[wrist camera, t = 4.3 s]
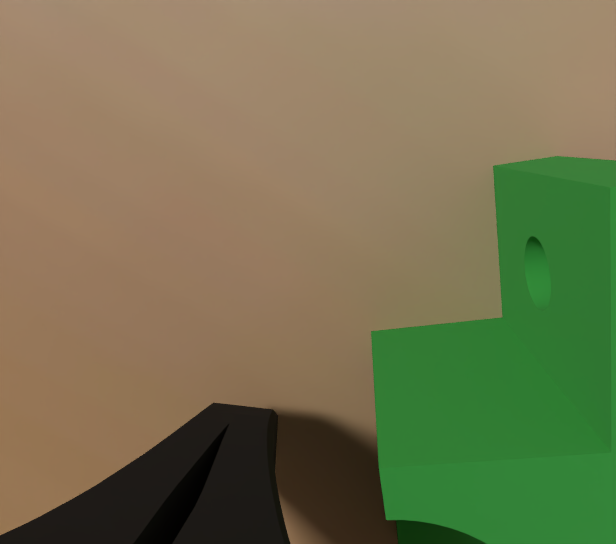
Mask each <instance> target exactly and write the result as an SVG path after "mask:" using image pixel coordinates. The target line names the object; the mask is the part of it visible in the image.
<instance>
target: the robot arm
mask: <svg viewBox="0 0 616 544" xmlns="http://www.w3.org/2000/svg"><path fill="white" fill-rule="evenodd" d="M277 423H278V415H277V414H276V413H275V412H274V410H272V409H264V408H255V407H246V406H237V405H229V404H220V403H213V404H211V405H210V406H208V407H207V408H206V409H204V410H203V411H202V412H200V413H199V414H198V415H196V416H195V417H194V418H192V419H191V420H190V421H188V422H187V423H186V424H184V425H183V426H182V427H180V428H179V429H178V430H176V431H175V432H174V433H172V434H171V435H170V436H168V437H167V438H166V439H164V440H163V441H161V442H160V443H159V444H157V445H156V446H155V447H153V448H152V449H150V450H149V451H148V452H146V453H145V454H143V455H142V456H140V457H139V458H137V459H136V460H134V461H133V462H131V463H130V464H128V465H126V466H125V467H123V468H122V469H120V470H119V471H117V472H116V473H114V474H113V475H111V476H110V477H108V478H107V479H105V480H103V481H102V482H100V483H99V484H97V485H96V486H94V487H92V488H91V489H89V490H87V491H85V492H84V493H82V494H80V495H79V496H77V497H75V498H73V499H72V500H70V501H68V502H66V503H64V504H62V505H60V506H59V507H57V508H55V509H53V510H51V511H49V512H47V513H46V514H44V515H42V516H40V517H38V518H36V519H34V520H32V521H30V522H28V523H26V524H24V525H22V526H20V527H18V528H15V529H13V530H11V531H9V532H7V533H5V534H2V535H0V544H290V541H289V538H288V534H287V530H286V526H285V522H284V518H283V514H282V509H281V505H280V500H279V495H278V489H277V483H276V476H275V463H276V443H277Z"/></svg>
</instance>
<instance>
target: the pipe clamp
mask: <svg viewBox="0 0 616 544" xmlns="http://www.w3.org/2000/svg"><path fill="white" fill-rule="evenodd" d="M493 170H494V186H495V202H496V218H497V234H498V250H499V266H500V282H501V298H502V314H503V318H494V319H484V320H475V321H465V322H456V323H446V324H437V325H427V326H418V327H408V328H399V329H389V330H380V331H371V337H372V355H373V373H374V391H375V409H376V427H377V445H378V463H379V473H380V480H381V488H382V495H383V502H384V509H385V516H386V520H396V525H397V535H398V544H616V161H614V160H601V159H588V158H575V157H561V156H555V157H549V158H542V159H535V160H529V161H522V162H515V163H508V164H502V165H495V166H493Z"/></svg>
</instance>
